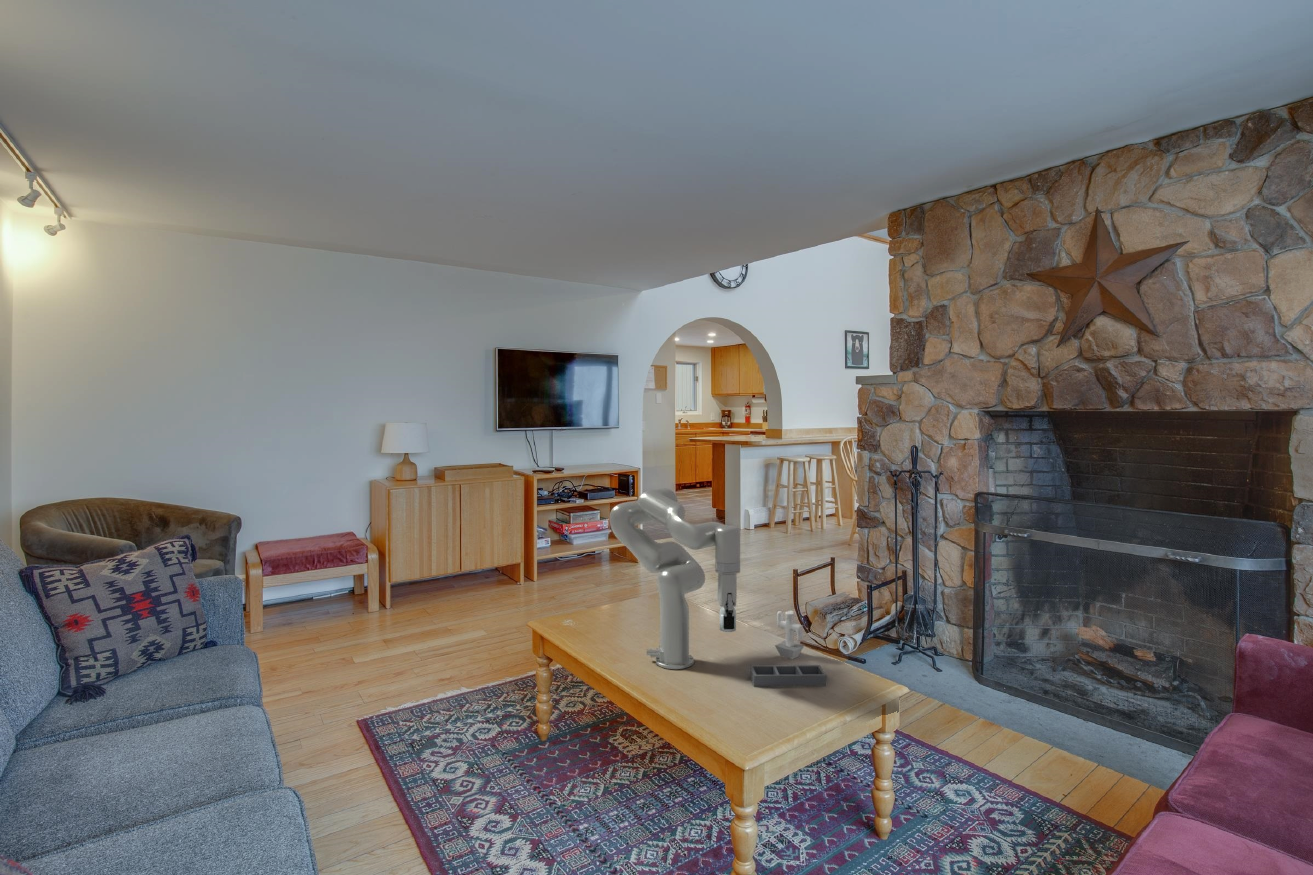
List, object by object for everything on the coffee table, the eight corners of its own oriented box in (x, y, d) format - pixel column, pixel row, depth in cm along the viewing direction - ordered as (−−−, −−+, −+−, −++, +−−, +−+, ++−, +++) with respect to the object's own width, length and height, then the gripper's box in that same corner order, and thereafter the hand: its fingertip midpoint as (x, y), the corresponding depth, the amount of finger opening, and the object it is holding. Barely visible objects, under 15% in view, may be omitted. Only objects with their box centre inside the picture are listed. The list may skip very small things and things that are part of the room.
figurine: (796, 662, 212) (796, 617, 211) (771, 655, 218) (772, 611, 217) (807, 656, 217) (807, 612, 216) (783, 649, 223) (783, 606, 223)
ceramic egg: (720, 632, 194) (720, 607, 194) (718, 626, 199) (718, 602, 199) (737, 631, 194) (737, 607, 194) (735, 626, 199) (734, 602, 199)
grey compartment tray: (754, 686, 193) (754, 675, 193) (750, 675, 201) (750, 665, 201) (826, 686, 194) (826, 675, 194) (819, 675, 201) (819, 664, 201)
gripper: (712, 560, 204) (713, 616, 205) (718, 573, 187) (718, 635, 188) (736, 560, 204) (736, 616, 205) (743, 573, 187) (744, 635, 188)
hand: (727, 625), depth 196 cm, fingers closed on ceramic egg, 5 cm apart
